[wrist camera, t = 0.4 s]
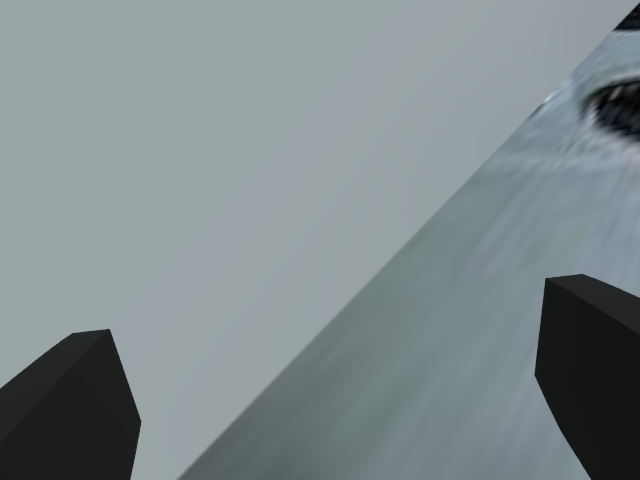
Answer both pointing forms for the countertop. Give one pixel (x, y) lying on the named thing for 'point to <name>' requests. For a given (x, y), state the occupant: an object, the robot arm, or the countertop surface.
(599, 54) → the countertop surface
